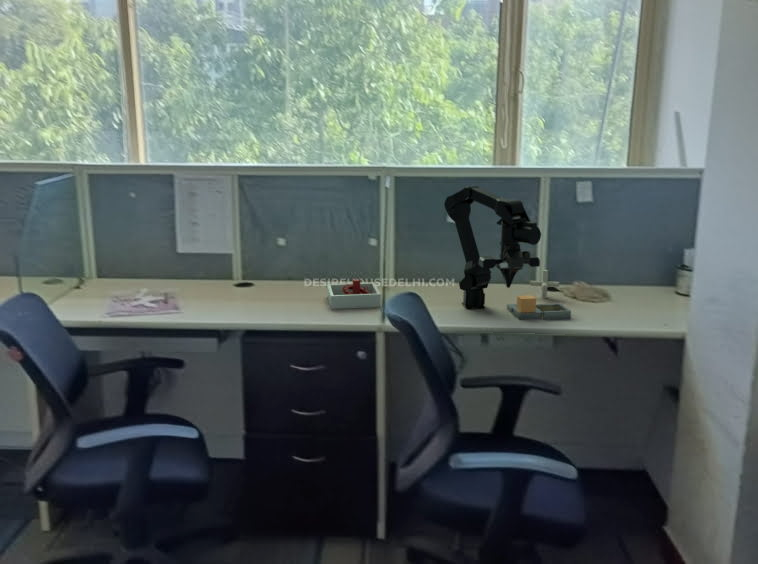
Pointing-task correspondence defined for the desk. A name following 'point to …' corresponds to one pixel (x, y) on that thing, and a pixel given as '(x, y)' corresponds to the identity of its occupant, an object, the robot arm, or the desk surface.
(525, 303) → the block
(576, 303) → the desk surface
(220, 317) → the desk surface
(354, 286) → the red branched piece
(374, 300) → the gear corral
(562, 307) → the sliding lid box
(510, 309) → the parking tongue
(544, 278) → the pipe connector
